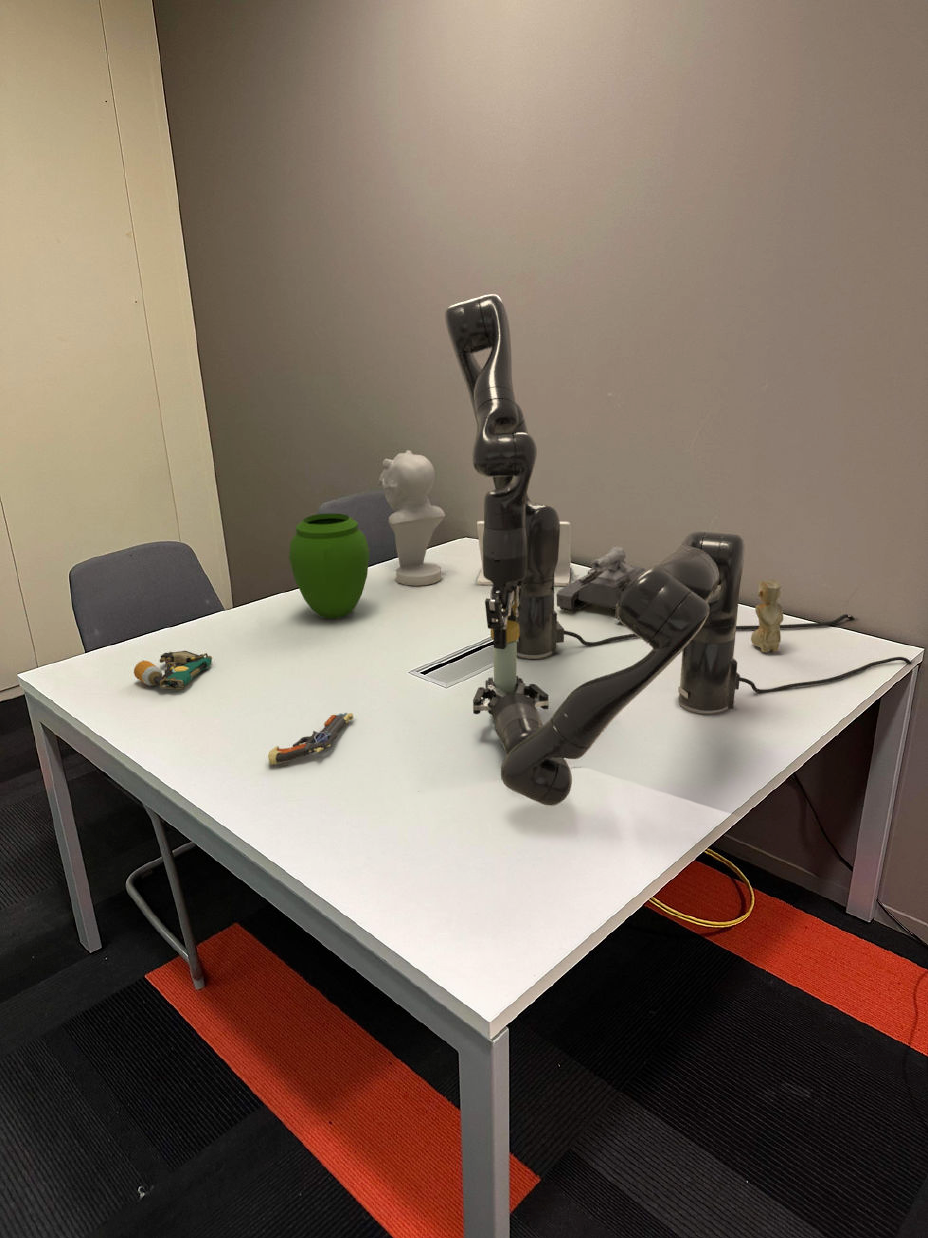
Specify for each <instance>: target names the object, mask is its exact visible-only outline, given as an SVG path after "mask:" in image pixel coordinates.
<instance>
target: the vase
mask: <svg viewBox="0 0 928 1238" xmlns="http://www.w3.org/2000/svg"><path fill="white" fill-rule="evenodd" d="M358 524H359V523H358V521H356V520H355V519H353V518H352V517H350V516H349V515H347V514H344V513H335V512H334V513H333V512H331V513H320V514H313V515H310V516H307V517H305V518H303V519H302V520H301V521H300V522H299V523H298V524H297V525H296V526H295V532H296V533H295V534H294V536H293V537H292V538H291V540H290V542H289V551H288V559H289V564H290V566H291V567H290V568H291V570H292V575H293V578H294V581H295V584H296V586H297V587H298V589H299V591H300V593H301V596H302V597H303V600H304V601H305V603H306V604H307V605H308V607H309V608H310V609H311V611H312V612H314V613H315V614H316V615H317V616H318V617H320V618H324V619H326V620H327V619H329V620H336V619H341V618H345V617H347V616H349V615H350V614H351V613H352V612H353V611H354V610H355V608H356V607H357V605H358V604H359V601H360V599H361V597H362V595H363V592H364V588H365V586H366V581H367V578H368V570H369V561H370V560H369V559H370V548H369V545H368V541H367V537H366V535H365V534H364V533H363V532H362V531H361V530H360V529H359V527H358Z"/></svg>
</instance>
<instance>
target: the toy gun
mask: <svg viewBox="0 0 928 1238" xmlns="http://www.w3.org/2000/svg"><path fill="white" fill-rule="evenodd" d="M353 720H354V713H352V712H350V713H348V712H343V713H339V714H332V715H330V717H328V718H327V719H326V721H325V722H324V723H323V728H322V730H320V731H315V730H313V731H312V734H311V735H309V736H308V735H307V736H303V737H301V738H300V739H299V740H297V741H295V742H294V743H293V744H292V745H291V747H286V748H280V746H279V745H276V746H275V747H273V748H272V749H271V750H270V751H269V752H268V754H267V759H268V763H269V764H270V765H278V764H282V763H285V762H289V761H292V760H295V759H298V758H303V757H305V756H309V755H312V754H314V753H316V754H319V753H320V752H322V751H324V750H325V749H327V748H329V747H331V746H332V744H333V743H334V742H335V740H337V738H338V735H339V733H340V732H341V731H342V729H344V727H345V726H346V725H347V724H348V723H349V722H350V721H353Z"/></svg>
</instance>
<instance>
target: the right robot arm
mask: <svg viewBox="0 0 928 1238" xmlns="http://www.w3.org/2000/svg"><path fill="white" fill-rule="evenodd" d="M745 551H746V547H745V541H744V539H743V537H742V536H741V535H738V534H733V533H720V532H709V531H694V532H691V533H689V534H688V535H687V536H686V537H685V538H684V539H683V541H682V542H681V544H680V545H679V547H678V548H677V549H676V550H675V551H674V552H672V553H670V554H669V555H668V556H666V558H664V559H663V560H662V561H661V562H660V563H659V564H656V565H653V566H651V567H649V568H647V569H645V571H643V572H642V573H641V574H639V575H638V576H637V577H636V578H634V579H633V580H632V581H631V582H630V583H629V585H628V586H627V587H626V588H625V590H624V591H623V592H622V594H621V596H620V598H619V601H618V603H617V608H616V613H617V617H618V618H619V620H618V621H620V622H621V624H622V625H623V626H624V627H626V628H627V629H628V630H629V631H631V632H632V634H636V635H637V636H638V637H637V638H639V639H640V640H642V641H643V642H644V643H646V644H648V645H649V646H650V647H651V648H652V649H651V651H650V652H648V653H647V654H646V655H645V656H644V657H643V658H642V659H639V661H637V662H636V663H634V664H631V665H630V666H628V667H625V668H624V669H620V670H618V671H615V672H611V673H609V674H605V675H603V676H599V677H596V678H594V679H591V680H588V681H585V682H584V683H582V684H580V685H579V686H577V687H575V689H574V690H572V691H571V692H570V693H569V694H568V695H567V696H566V698H565V699H564V700H563V702H562V703H561V704H560V706H559V707H558V708H557V709H556V710H555V712H554V713H553V715H552V716H551V717H550V719H548V721H547V722H546V723H545V724H543V722H542V719H541V716H540V714H539V712H538V709H537V708H541V709H542V710H548V709H549V708H550V705H549V704H550V701H549V700H550V695H549V694H548V693H547V692H546V691H544V690H543V689H542V688H540V687H539V686H538V685H537V684H535V683H530V684H528V685H526V683H525V682H524V679H522V678H521V677H519V675H517V690H516V692H513V693H503V692H502V691H501V690H500V689H499V688H496V687H495V684H494V677H488V679H486V680H485V681H484V682H485V683H484V685H485V687H483V686H480V687H478V688H477V690H476V692H475V694H474V696H473V699H472V709H473V710H472V713H473V714H474V715H479V714H481V712H484V711H485V712H487V713H488V714H489V715H490V716H492V720H493V723H494V726H495V731H496V734H497V737H498V739H499V741H500V743H501V745H502V747H503V750H504V753H505V758H504V759H503V761H502V764H501V768H500V776H501V777H500V778H501V781H502V783H503V784H504V786H505V787H506V788H507V789H509V790H511V791H512V792H515V793H517V794H519V795H521V796H524V797H526V798H527V799H530V800H532V801H535V802H537V803H539V804H541V805H544V806H550V807H551V806H556V805H559V804H561V803H562V802H564V801H565V800H566V799H567V797H568V796H569V794H570V792H571V790H572V785H573V784H572V783H573V774H572V771H571V767H570V765H569V763H568V762H567V760H578V759H580V758H582V757H584V755H586V753H587V752H588V751H589V750H590V748H591V747H593V745H594V743H595V742H596V741H597V740H598V738H599V737H600V736H601V735H602V734H603V733H604V731H605V730H606V729H607V727H608V726H609V725H610V724H611V723H612V722H613V720H615V718H617V716H618V715H619V714H620V713H621V712H622V711H623V710H624V709H625V708H626V707H627V706H628V705H630V703H631V702H632V701H633V700H634V699H635V698H636V697H638V696H639V695H640V694H641V693H642V692H643V691H644V690H645V689H646V688H648V686H649V685H650V684H651V683H652V682H653V681H654V680H655V679H656V678H657V677H658V676H659V675H660V674H661V673H662V672H664V670H665V669H666V668H667V667H668V666H669V665H670V664H671V663H672V662H674V660H675V659H676V658H677V657H678V656H679V655H680V654H681V664H680V676H679V677H680V678H679V686H678V691H677V692H678V700H677V701H678V704H679V705H680V707H681V708H683V709H685V710H687V711H688V712H692V713H695V714H701V715H717V714H722V713H724V712H726V711H728V710H731V709H732V710H733V709H734V706H735V694H736V691H737V690H739V689H740V682H741V683H745V684H747V685H748V686H750V687H751V689H752V690H753V691H754V692H755V693H758V694H767V693H774V692H780V691H783V690H787V689H791V688H798V687H799V688H800V687H807V686H814V685H821V684H826V683H831V682H835V681H838V680H842V679H844V678H847V677H849V676H852V675H855V674H857V673H860V672H862V671H866V670H867V669H870V668H872V667H875V666H879V665H885V664H888V663H892V662H895V661H902V662H905V663H906V664H908V665H911V664H912V662H911V660H909V658H907V657H905V656H894V657H890V658H886V659H882V660H881V659H880V660H877V661H873V662H870V663H868V664H865V665H863V666H860V667H858V668H855V669H853V670H849V671H847V672H844V673H842V674H839V675H836V676H832V677H829V678H824V679H823V678H822V679H818V680H809V681H802V682H795V683H789V684H785V685H781V686H777V687H774V688H768V689H767V688H766V689H761V688H757V687H756V685H755V683H754V682H753V680H750V679H747V678H745V677H741V675H740V674H739V672H737V670H738V661H737V660H736V659H735V658H734V657H735V656H734V655H735V646H736V645H735V644H736V633H737V630H736V626H737V623H738V622H737V621H738V612H739V611H738V609H739V599H740V590H741V582H742V574H743V569H744V563H745V557H746V556H745V554H746V552H745ZM718 587H720V589H718ZM717 589H718V590H717ZM486 700H488V701H489V702H488V703H486ZM566 759H567V760H566Z"/></svg>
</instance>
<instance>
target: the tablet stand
mask: <svg viewBox="0 0 928 1238" xmlns="http://www.w3.org/2000/svg"><path fill="white" fill-rule="evenodd" d="M476 531H477V537H478V544H479V551H480V557H481V558H480V559H481V570H480V573H479V575H478V577H477V580H476V581H477V582H476V584H478V585H484V586H485V585H486V586H487V585H489V586H490V585H491V586H493V583H492V582H491V581H490V580H487V579H486V578H485V577H484V575H483V533H484V520H477V522H476ZM571 560H572V558H571V522H569V521H560V538H559V554H558V562H557V565H556V568H555V572H554V587H556V586H557V587H566V586H567V585H569V584H570V580H571V579H570V578H571V565H572V564H571Z"/></svg>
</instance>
